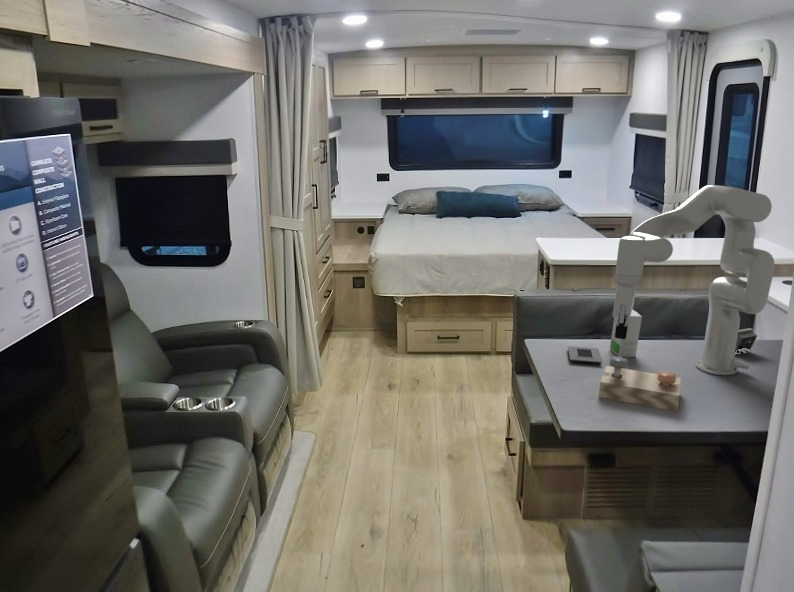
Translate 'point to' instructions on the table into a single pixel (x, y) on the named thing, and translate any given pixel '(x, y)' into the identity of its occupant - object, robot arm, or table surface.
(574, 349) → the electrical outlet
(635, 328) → the skincare box
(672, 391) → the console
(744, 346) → the electrical switch
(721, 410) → the table surface
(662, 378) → the terracotta button
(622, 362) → the grey button
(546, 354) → the table surface
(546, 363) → the table surface
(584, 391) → the table surface
